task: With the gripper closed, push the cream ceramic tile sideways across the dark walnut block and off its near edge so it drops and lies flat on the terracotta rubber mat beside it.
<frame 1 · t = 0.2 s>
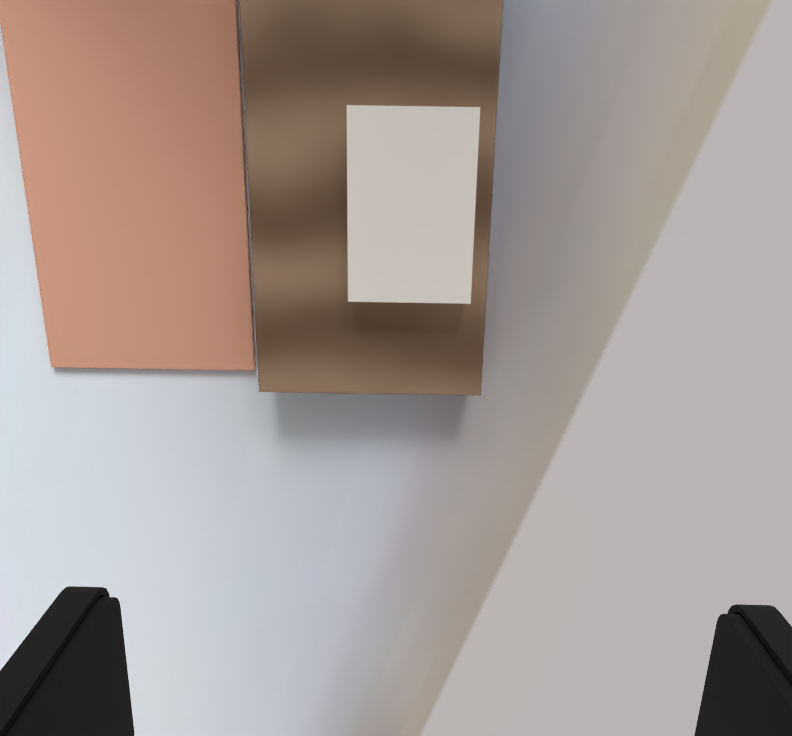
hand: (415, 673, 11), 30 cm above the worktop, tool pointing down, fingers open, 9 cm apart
ceramic tile: (410, 204, 34), point 4 cm above the worktop, touching walnut block
walnut block: (373, 198, 38), on the worktop
rubber mat: (137, 194, 38), on the worktop
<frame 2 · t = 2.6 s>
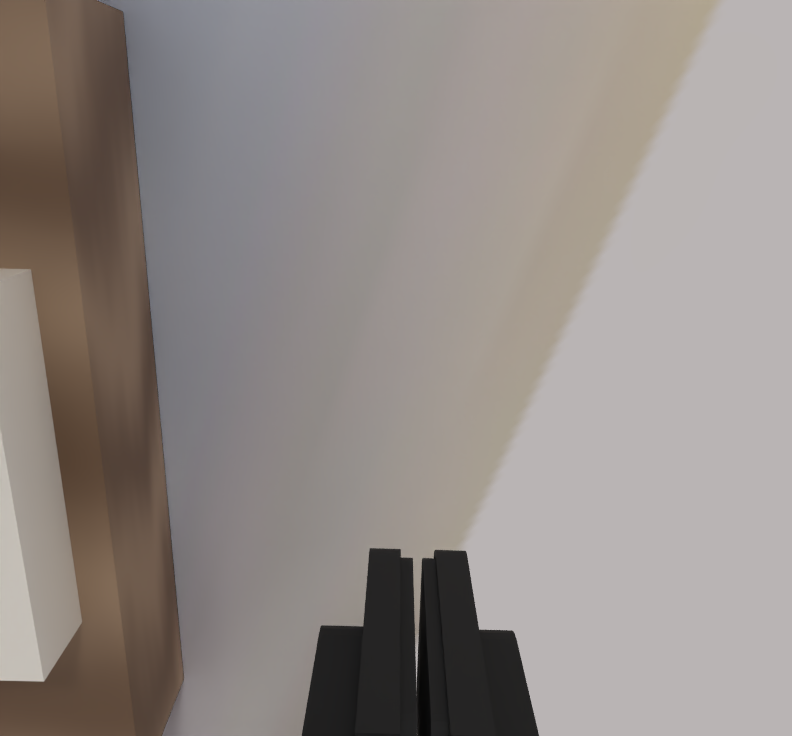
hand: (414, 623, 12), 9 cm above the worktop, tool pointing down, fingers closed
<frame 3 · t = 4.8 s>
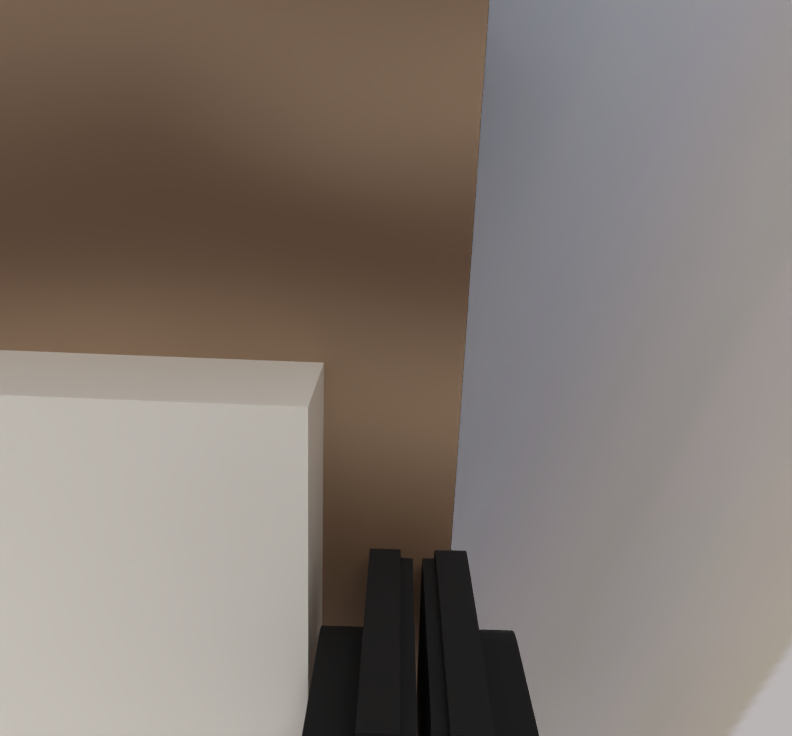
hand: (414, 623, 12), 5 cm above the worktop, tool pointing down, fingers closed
ceramic tile: (156, 593, 13), point 4 cm above the worktop, touching gripper, walnut block
walnut block: (181, 484, 16), on the worktop
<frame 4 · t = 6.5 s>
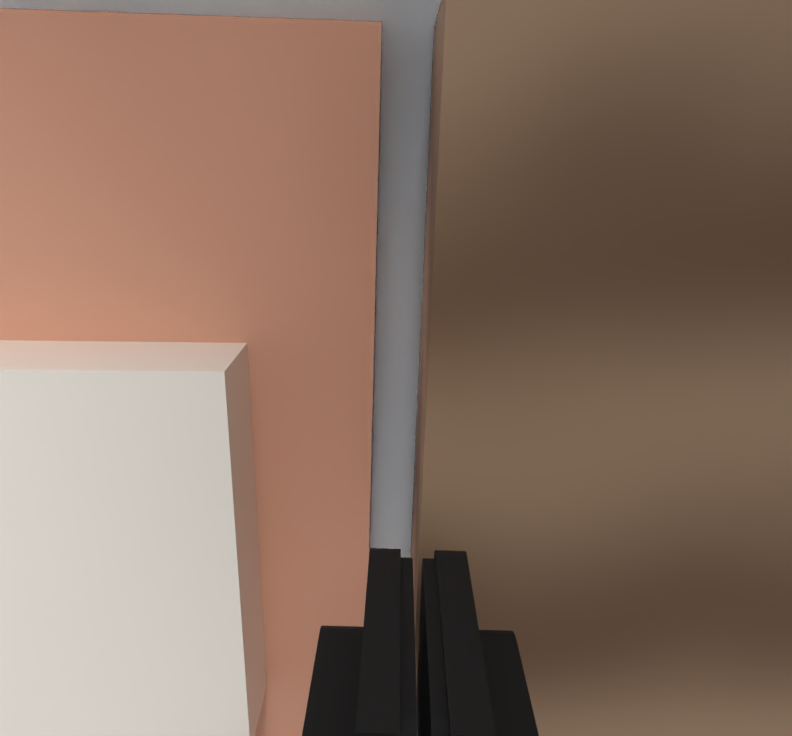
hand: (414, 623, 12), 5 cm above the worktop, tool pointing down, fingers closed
ceramic tile: (93, 577, 14), point 2 cm above the worktop, tilted 180°, touching rubber mat
walnut block: (667, 502, 16), on the worktop
rubber mat: (116, 484, 16), on the worktop
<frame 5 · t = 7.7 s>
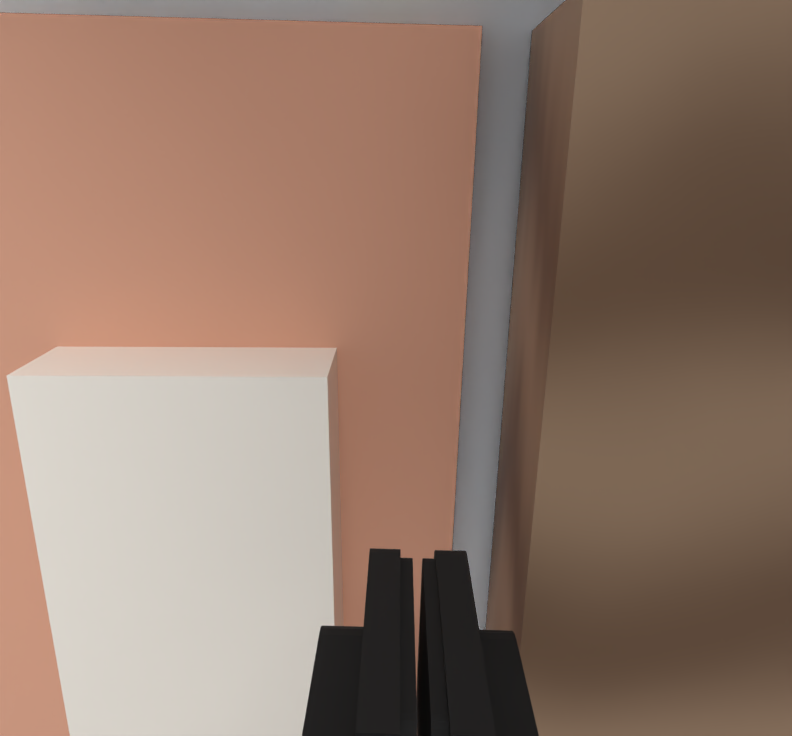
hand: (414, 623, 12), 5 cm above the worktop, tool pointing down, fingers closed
ceramic tile: (187, 583, 14), point 2 cm above the worktop, tilted 180°, touching rubber mat
walnut block: (750, 504, 16), on the worktop
rubber mat: (198, 489, 16), on the worktop
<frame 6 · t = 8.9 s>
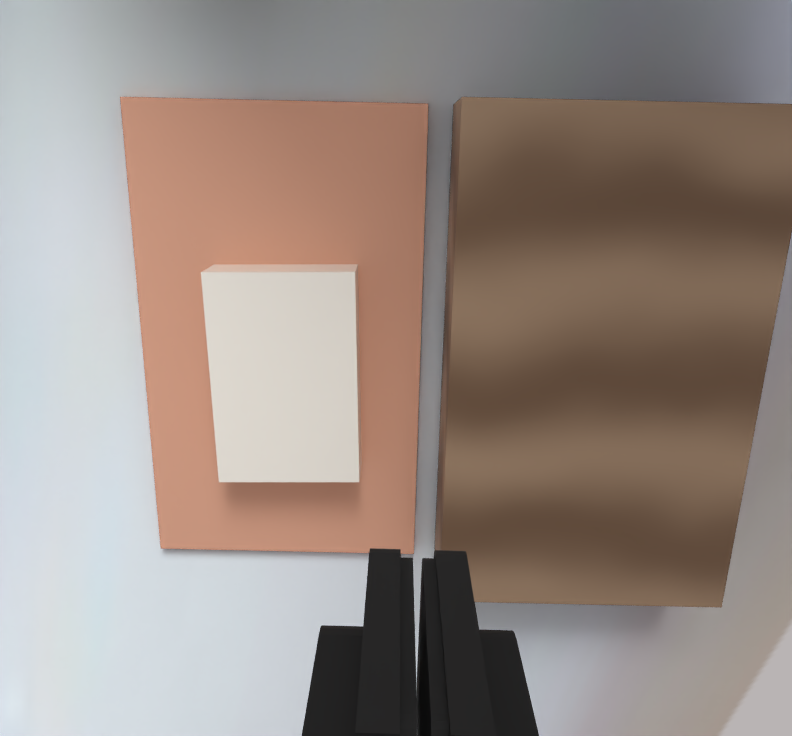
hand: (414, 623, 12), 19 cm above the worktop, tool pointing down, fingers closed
ceramic tile: (283, 382, 28), point 2 cm above the worktop, tilted 180°, touching rubber mat
walnut block: (580, 351, 30), on the worktop
rubber mat: (282, 345, 30), on the worktop
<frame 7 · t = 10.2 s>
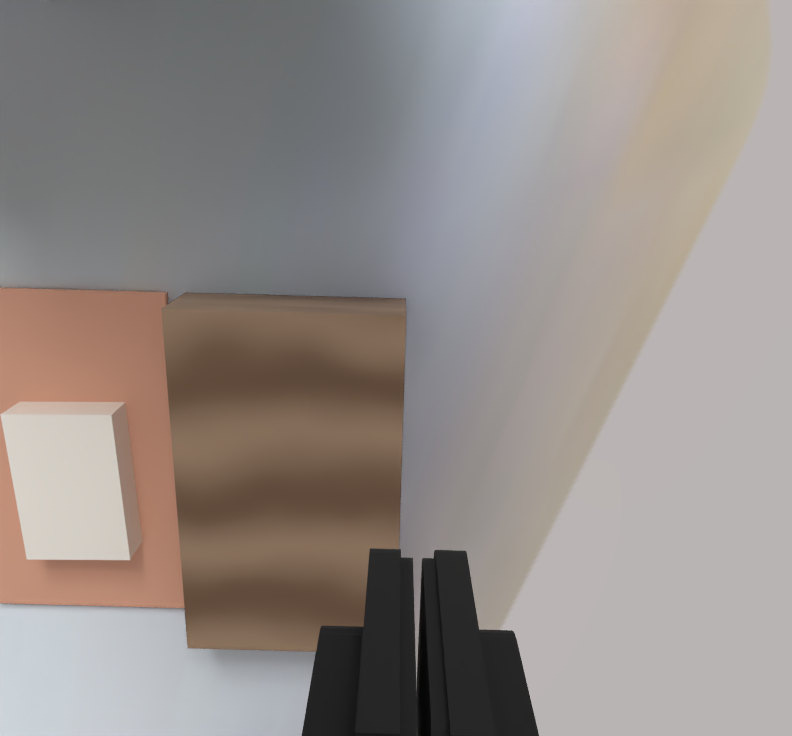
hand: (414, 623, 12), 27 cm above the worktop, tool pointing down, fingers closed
ceramic tile: (67, 489, 39), point 2 cm above the worktop, tilted 180°, touching rubber mat
walnut block: (298, 462, 41), on the worktop
rubber mat: (77, 456, 41), on the worktop
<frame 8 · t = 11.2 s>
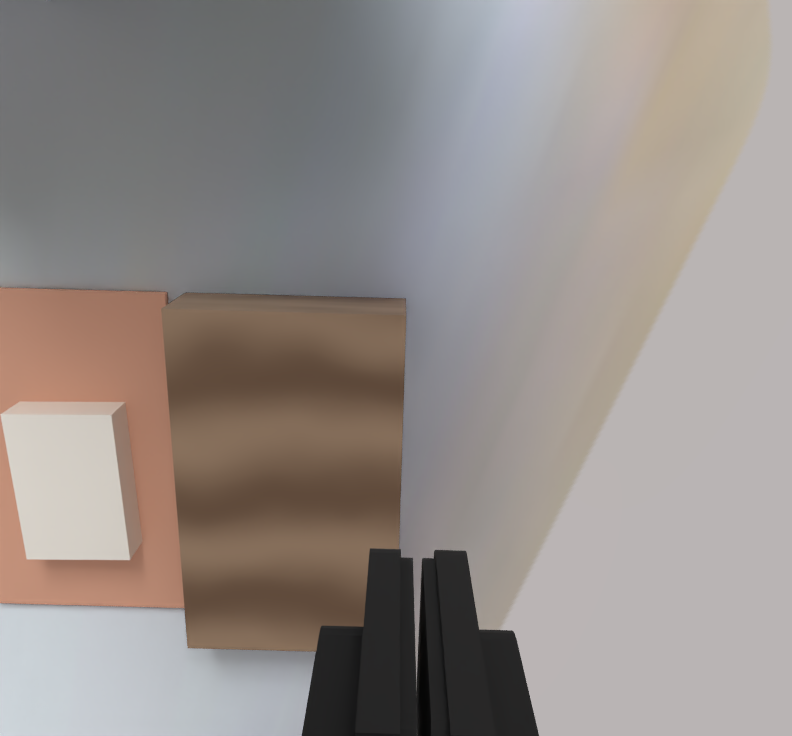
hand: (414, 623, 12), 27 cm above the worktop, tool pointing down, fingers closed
ceramic tile: (67, 489, 39), point 2 cm above the worktop, tilted 180°, touching rubber mat
walnut block: (298, 462, 41), on the worktop
rubber mat: (77, 456, 41), on the worktop
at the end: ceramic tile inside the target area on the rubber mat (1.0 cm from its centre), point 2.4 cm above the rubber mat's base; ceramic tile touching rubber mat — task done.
